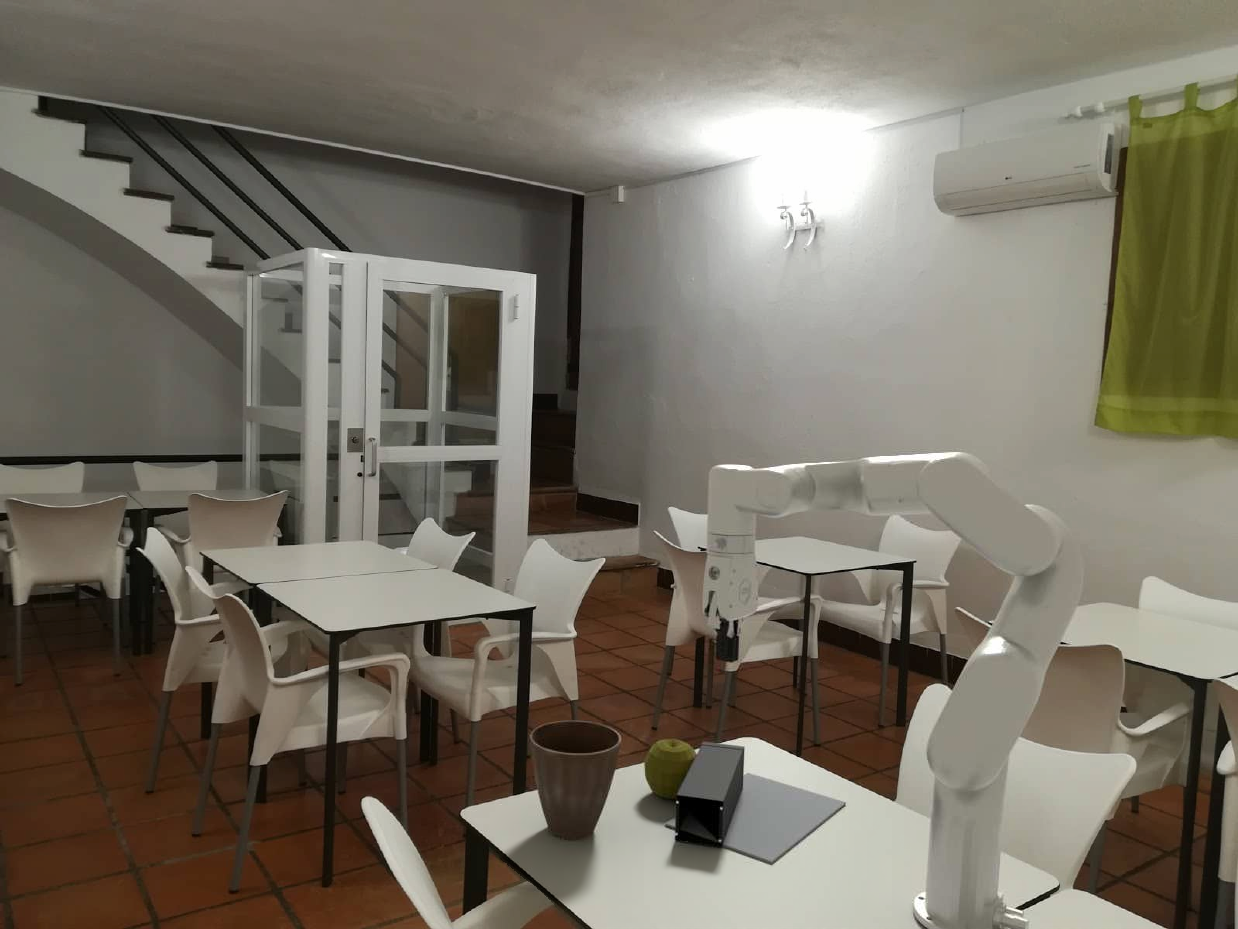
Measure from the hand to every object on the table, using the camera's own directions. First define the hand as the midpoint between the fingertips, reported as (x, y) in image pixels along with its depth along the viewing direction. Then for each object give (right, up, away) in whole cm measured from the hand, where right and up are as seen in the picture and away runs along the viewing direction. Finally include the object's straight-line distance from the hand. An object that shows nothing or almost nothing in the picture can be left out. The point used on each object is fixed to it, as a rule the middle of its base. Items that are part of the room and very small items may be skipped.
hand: (727, 660), depth 151 cm
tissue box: (-4, -27, +4) cm, 27 cm away
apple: (-8, -30, +24) cm, 38 cm away
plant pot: (-25, -30, +8) cm, 40 cm away
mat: (+7, -31, +17) cm, 36 cm away
